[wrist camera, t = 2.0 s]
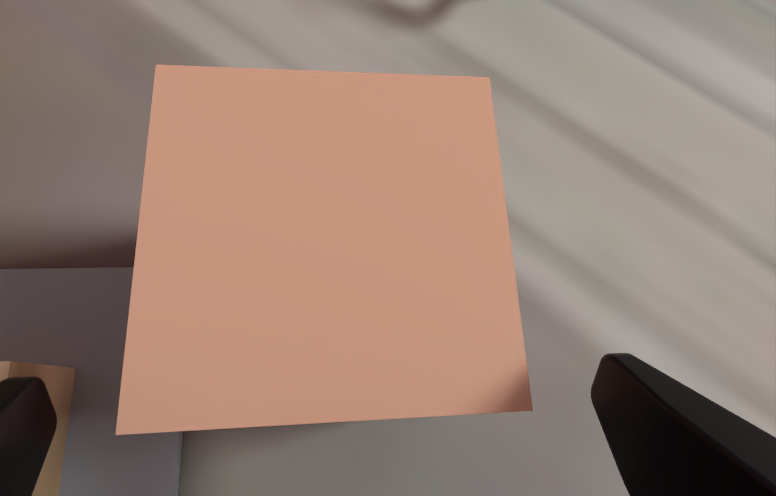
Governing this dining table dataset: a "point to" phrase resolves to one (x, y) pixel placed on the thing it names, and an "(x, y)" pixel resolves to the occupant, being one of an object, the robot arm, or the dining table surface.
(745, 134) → the dining table surface
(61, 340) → the mat
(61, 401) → the block
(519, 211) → the dining table surface
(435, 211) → the salmon pink box
